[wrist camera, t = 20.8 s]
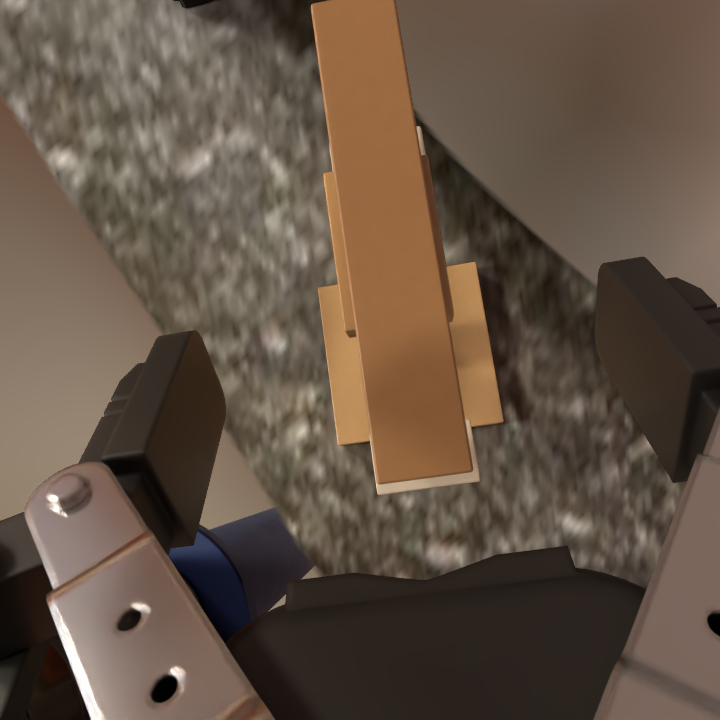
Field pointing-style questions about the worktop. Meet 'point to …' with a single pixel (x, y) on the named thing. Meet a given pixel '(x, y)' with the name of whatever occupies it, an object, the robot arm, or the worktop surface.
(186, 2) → the portable radio
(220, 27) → the worktop surface
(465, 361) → the headphone stand
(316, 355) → the worktop surface
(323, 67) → the brown blocky piece
